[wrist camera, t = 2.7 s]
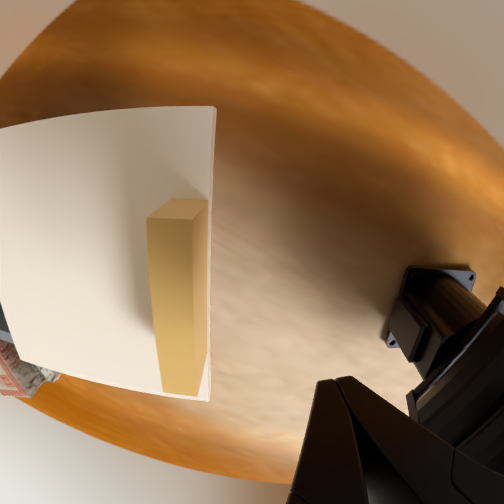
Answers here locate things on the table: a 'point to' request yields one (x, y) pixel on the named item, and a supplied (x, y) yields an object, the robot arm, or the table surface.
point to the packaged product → (21, 373)
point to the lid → (111, 246)
